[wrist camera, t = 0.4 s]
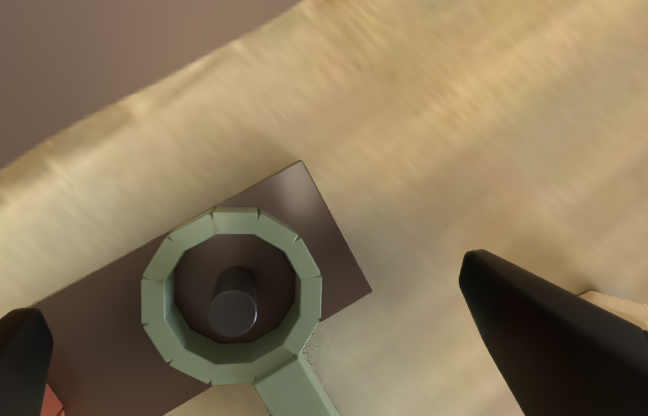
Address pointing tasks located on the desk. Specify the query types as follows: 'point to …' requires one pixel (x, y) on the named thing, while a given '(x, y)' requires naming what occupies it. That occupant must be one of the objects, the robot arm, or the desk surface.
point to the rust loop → (51, 404)
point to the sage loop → (241, 358)
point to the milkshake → (620, 307)
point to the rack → (191, 303)
